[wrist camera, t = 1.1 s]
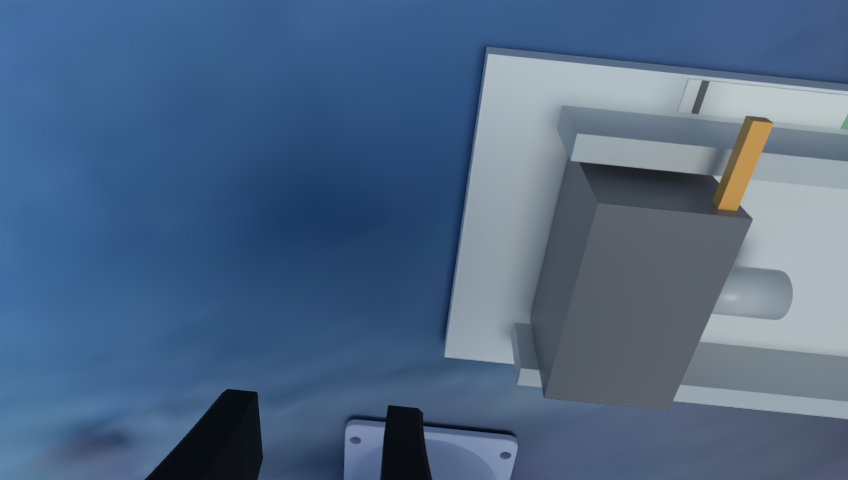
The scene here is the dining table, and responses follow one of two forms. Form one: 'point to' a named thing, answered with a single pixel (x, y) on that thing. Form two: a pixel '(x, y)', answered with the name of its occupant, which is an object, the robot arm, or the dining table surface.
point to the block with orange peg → (645, 276)
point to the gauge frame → (670, 151)
